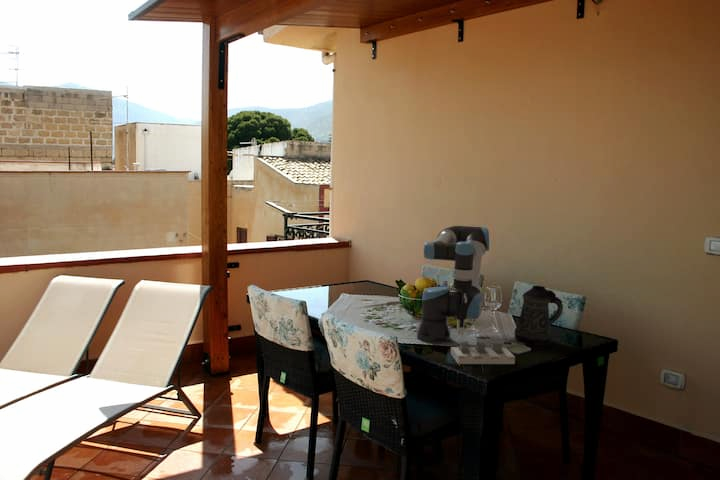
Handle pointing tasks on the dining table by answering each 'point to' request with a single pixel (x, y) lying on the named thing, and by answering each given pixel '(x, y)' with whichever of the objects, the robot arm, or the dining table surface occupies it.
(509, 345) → the handheld gaming console
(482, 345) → the switch tab
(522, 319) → the beer stein
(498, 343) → the switch tab
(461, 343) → the switch tab
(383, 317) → the dining table surface
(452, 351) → the switch bank
